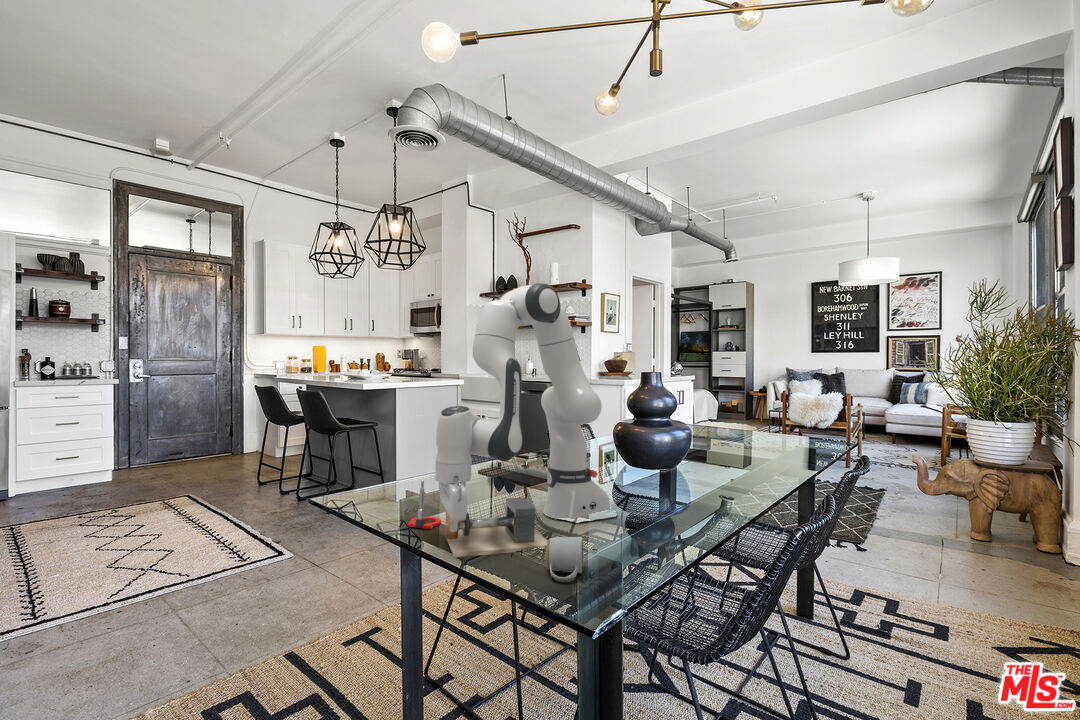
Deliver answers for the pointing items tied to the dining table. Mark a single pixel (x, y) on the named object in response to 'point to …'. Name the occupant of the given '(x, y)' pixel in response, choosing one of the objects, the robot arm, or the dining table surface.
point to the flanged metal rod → (476, 524)
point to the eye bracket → (520, 520)
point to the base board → (490, 542)
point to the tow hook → (420, 520)
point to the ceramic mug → (565, 555)
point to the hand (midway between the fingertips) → (451, 527)
